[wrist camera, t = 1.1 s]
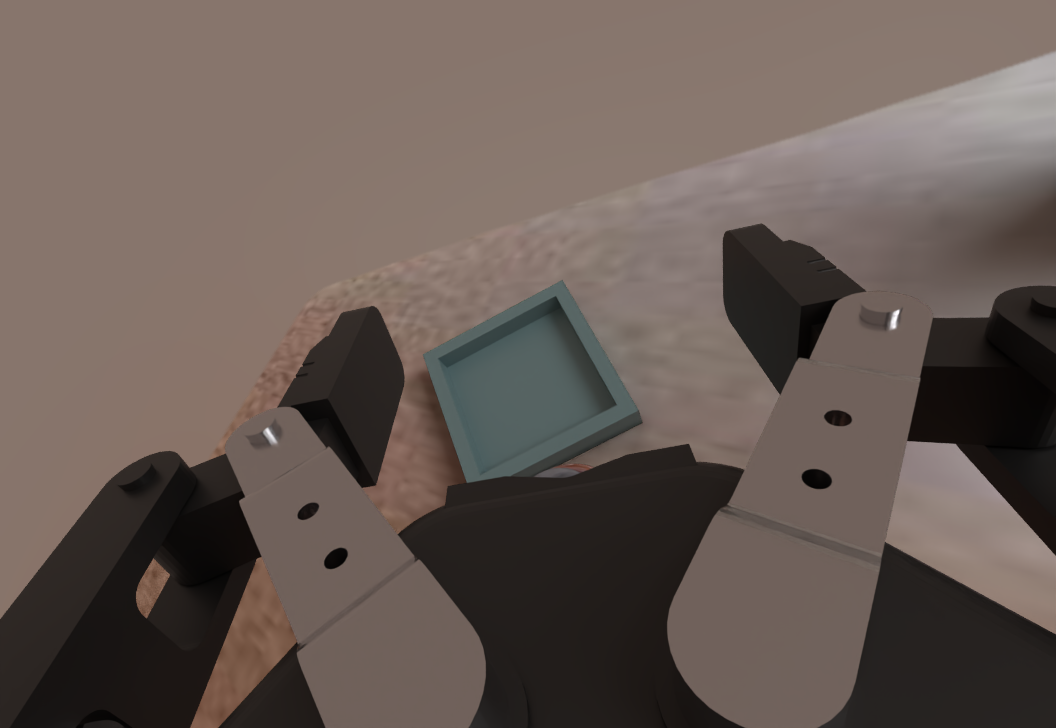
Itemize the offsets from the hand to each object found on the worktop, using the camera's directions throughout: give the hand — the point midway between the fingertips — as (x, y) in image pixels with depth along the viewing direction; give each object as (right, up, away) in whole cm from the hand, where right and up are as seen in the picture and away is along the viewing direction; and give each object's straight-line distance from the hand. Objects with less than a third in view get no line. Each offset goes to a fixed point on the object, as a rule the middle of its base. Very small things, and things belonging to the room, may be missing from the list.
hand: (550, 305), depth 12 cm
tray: (0, -3, +26) cm, 27 cm away
